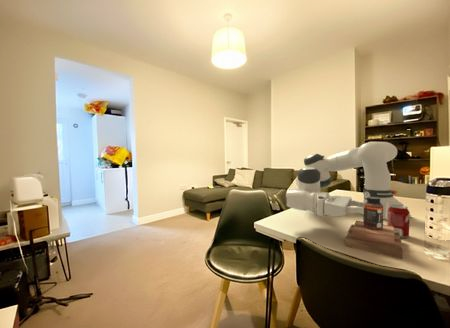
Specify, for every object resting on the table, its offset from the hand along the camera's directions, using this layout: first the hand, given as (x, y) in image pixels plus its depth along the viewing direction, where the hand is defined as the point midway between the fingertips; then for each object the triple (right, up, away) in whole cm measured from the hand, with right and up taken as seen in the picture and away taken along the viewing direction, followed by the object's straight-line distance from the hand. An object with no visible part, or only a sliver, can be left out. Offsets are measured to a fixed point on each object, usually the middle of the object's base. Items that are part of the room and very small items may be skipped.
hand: (363, 207), depth 80 cm
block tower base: (+3, -13, -1) cm, 14 cm away
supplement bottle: (+3, -7, -1) cm, 8 cm away
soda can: (+18, -13, +6) cm, 23 cm away
